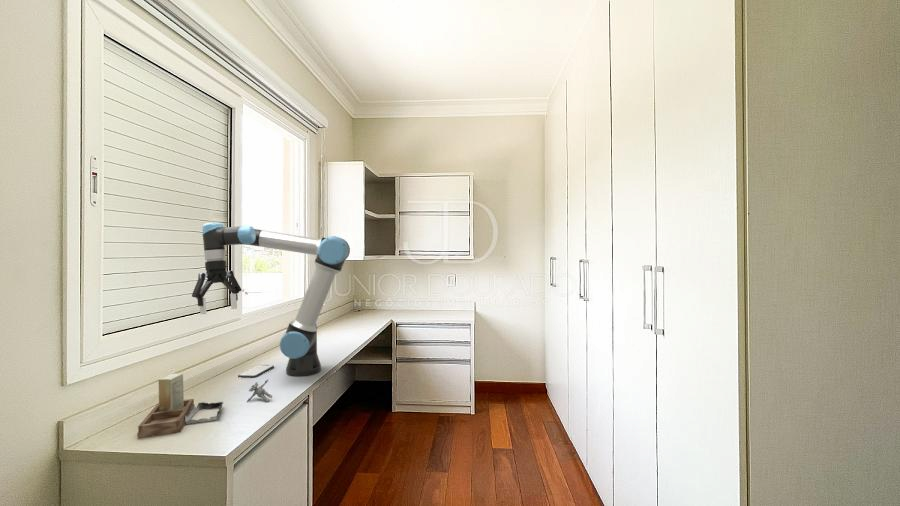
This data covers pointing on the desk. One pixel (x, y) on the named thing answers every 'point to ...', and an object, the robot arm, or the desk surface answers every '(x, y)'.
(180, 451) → the desk surface
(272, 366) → the phone case
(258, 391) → the grey figurine
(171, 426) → the walnut divided tray
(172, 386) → the skincare box
